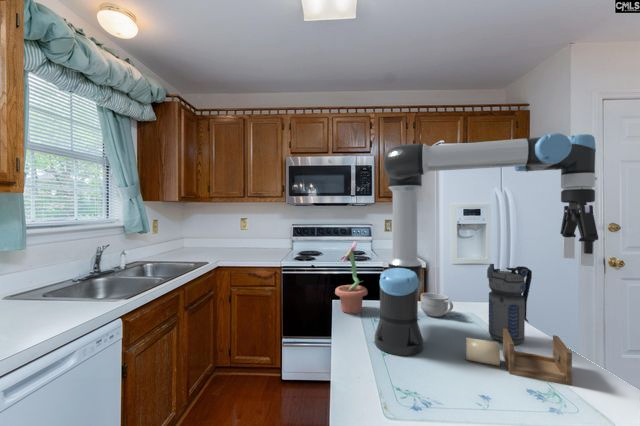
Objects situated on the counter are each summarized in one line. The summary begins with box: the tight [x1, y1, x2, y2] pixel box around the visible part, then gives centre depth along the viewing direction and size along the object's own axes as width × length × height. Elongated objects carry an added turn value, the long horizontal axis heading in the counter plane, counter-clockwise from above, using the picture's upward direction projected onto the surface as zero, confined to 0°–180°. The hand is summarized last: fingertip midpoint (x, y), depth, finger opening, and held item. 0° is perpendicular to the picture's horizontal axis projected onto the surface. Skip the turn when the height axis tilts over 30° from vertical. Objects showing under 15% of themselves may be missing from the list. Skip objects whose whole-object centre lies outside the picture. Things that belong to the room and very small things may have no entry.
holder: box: [502, 328, 573, 387], centre depth 80 cm, size 13×11×8 cm
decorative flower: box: [334, 241, 368, 314], centre depth 128 cm, size 15×14×30 cm
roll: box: [465, 337, 501, 367], centre depth 84 cm, size 8×6×6 cm
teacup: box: [420, 292, 454, 318], centre depth 121 cm, size 14×11×8 cm
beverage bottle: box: [486, 263, 533, 345], centre depth 99 cm, size 10×13×25 cm
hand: (577, 261), depth 87 cm, fingers open, 13 cm apart
